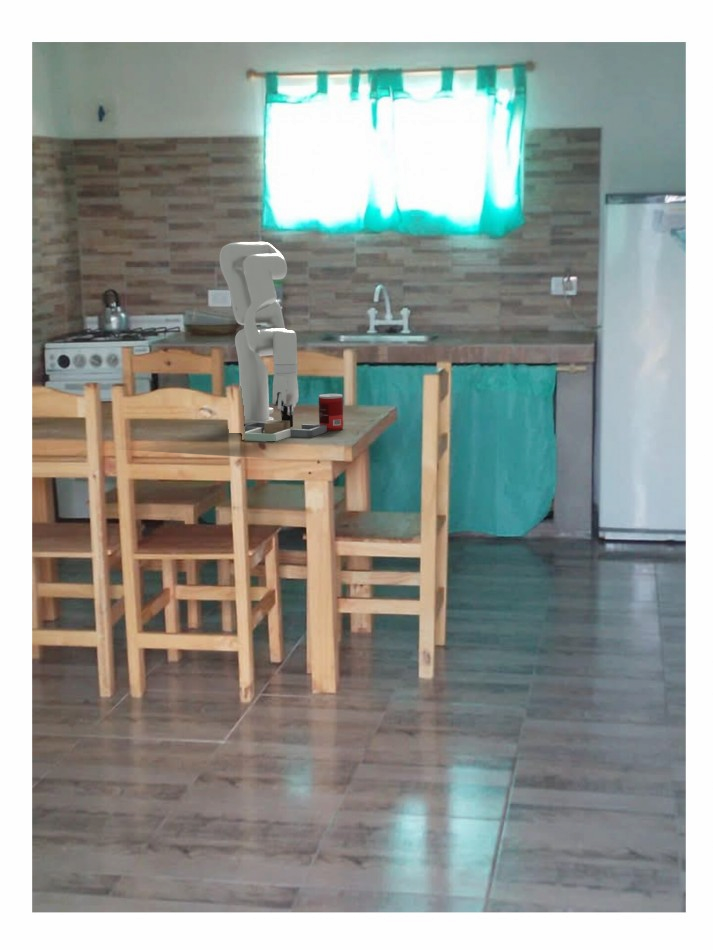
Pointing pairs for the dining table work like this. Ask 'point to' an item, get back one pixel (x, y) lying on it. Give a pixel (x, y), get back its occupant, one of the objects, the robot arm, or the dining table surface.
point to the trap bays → (306, 430)
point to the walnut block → (276, 426)
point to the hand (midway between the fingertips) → (287, 427)
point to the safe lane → (266, 435)
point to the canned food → (331, 411)
